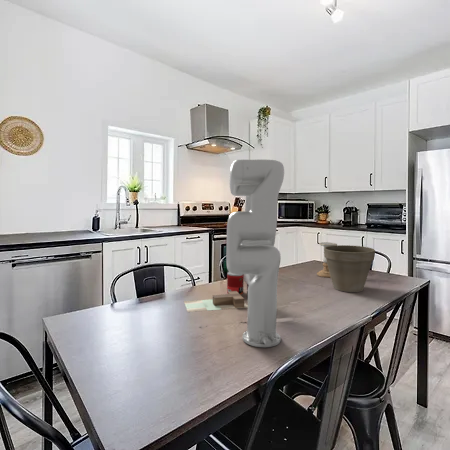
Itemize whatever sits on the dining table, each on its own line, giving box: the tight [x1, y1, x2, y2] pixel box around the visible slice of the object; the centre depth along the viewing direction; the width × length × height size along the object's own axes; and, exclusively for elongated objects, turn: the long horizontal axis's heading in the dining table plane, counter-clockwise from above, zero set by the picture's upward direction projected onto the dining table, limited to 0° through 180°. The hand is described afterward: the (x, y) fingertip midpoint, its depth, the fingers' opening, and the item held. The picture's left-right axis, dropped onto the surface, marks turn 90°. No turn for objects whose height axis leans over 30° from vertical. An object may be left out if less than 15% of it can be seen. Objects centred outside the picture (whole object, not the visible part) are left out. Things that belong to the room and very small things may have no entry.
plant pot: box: [323, 244, 376, 293], centre depth 167 cm, size 25×25×22 cm
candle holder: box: [316, 241, 338, 279], centre depth 196 cm, size 12×12×20 cm
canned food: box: [226, 271, 245, 296], centre depth 155 cm, size 8×8×11 cm
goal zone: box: [184, 298, 223, 312], centre depth 136 cm, size 14×14×1 cm
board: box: [183, 299, 248, 313], centre depth 137 cm, size 14×26×1 cm, turn 104°
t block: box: [212, 291, 245, 309], centre depth 138 cm, size 12×12×4 cm
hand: (250, 299), depth 141 cm, fingers closed
